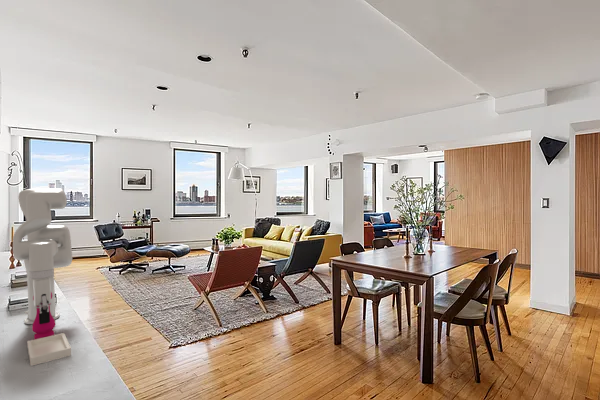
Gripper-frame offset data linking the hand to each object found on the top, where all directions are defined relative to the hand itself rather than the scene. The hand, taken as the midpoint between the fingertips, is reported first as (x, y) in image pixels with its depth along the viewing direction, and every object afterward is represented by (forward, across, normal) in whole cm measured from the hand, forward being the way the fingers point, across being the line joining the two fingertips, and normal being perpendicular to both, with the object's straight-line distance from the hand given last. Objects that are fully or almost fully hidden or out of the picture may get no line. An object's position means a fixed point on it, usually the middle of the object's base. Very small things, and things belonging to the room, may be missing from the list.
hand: (43, 320), depth 135 cm
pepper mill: (+7, 0, 0) cm, 7 cm away
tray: (+7, +17, 0) cm, 18 cm away
